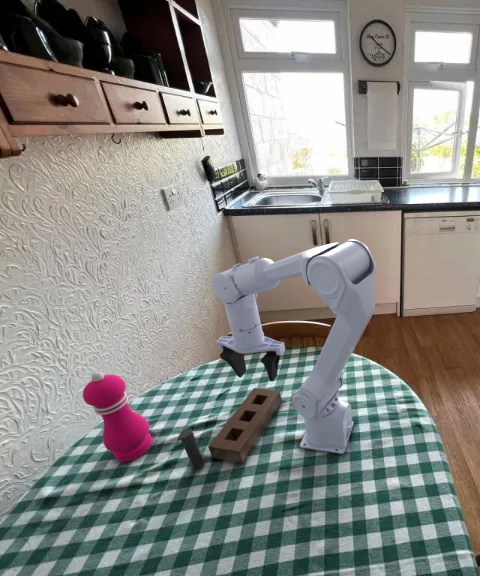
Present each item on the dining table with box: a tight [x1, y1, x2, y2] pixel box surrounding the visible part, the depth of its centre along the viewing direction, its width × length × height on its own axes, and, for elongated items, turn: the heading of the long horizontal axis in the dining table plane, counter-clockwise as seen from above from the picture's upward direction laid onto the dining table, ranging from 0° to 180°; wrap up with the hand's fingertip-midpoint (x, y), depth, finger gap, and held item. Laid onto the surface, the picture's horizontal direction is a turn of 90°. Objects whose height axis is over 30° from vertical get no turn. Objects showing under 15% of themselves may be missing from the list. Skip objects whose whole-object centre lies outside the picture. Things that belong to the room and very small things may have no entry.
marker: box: [178, 428, 205, 471], centre depth 59 cm, size 2×2×9 cm
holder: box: [207, 387, 283, 464], centre depth 69 cm, size 7×16×4 cm, turn 170°
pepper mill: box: [82, 371, 153, 463], centre depth 61 cm, size 7×7×20 cm
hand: (258, 376), depth 69 cm, fingers open, 7 cm apart
